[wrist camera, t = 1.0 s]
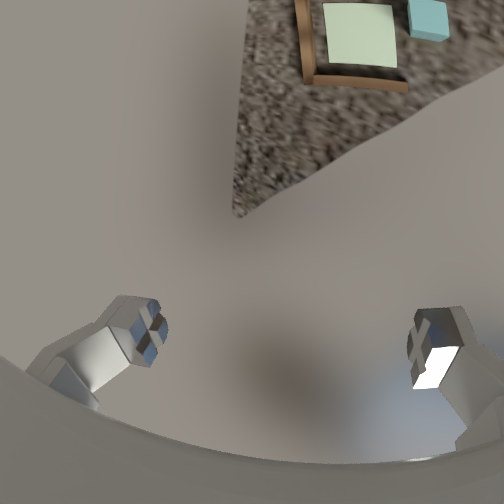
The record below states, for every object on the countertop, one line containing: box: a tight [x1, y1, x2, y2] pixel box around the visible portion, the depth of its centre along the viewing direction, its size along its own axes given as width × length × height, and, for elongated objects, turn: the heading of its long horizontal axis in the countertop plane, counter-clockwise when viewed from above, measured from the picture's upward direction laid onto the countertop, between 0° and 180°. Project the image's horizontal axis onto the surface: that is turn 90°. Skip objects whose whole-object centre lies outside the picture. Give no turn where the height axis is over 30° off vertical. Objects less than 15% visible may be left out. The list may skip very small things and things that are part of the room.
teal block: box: [407, 0, 449, 42], centre depth 20 cm, size 4×4×8 cm
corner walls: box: [294, 0, 408, 93], centre depth 28 cm, size 17×15×2 cm
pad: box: [323, 3, 397, 68], centre depth 28 cm, size 10×10×1 cm
